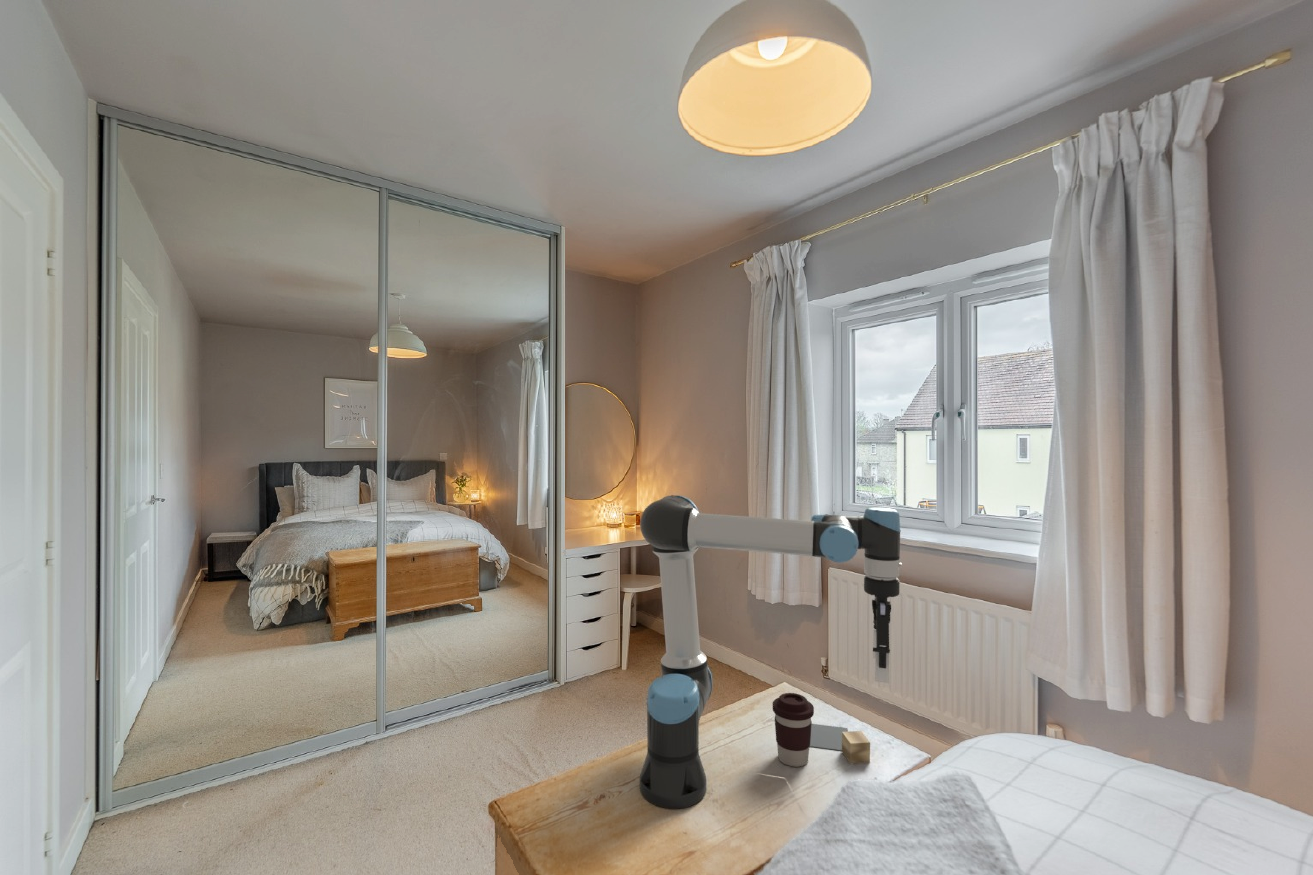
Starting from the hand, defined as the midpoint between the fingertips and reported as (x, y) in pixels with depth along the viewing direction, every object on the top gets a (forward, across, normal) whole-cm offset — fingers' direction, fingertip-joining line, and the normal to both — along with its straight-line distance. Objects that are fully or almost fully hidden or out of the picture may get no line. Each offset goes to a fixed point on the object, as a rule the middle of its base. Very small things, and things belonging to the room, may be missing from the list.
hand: (880, 669), depth 129 cm
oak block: (+26, +11, +5) cm, 29 cm away
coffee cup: (+27, +5, +20) cm, 34 cm away
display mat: (+27, +18, +13) cm, 35 cm away
